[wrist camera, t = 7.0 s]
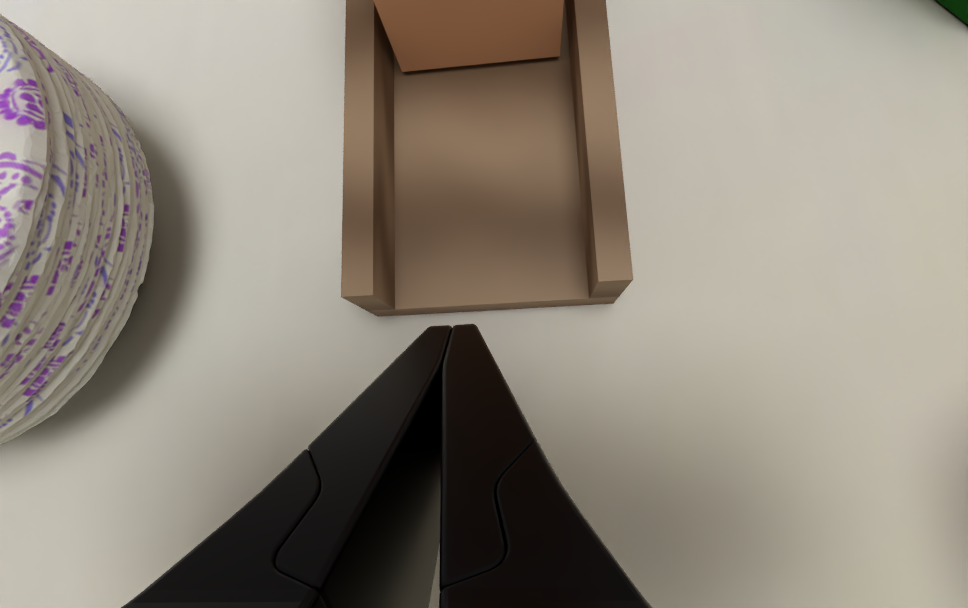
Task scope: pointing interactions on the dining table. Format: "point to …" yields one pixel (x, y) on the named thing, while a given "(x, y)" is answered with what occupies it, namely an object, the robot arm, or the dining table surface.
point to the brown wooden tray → (482, 176)
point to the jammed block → (470, 31)
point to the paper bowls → (62, 229)
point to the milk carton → (957, 8)
